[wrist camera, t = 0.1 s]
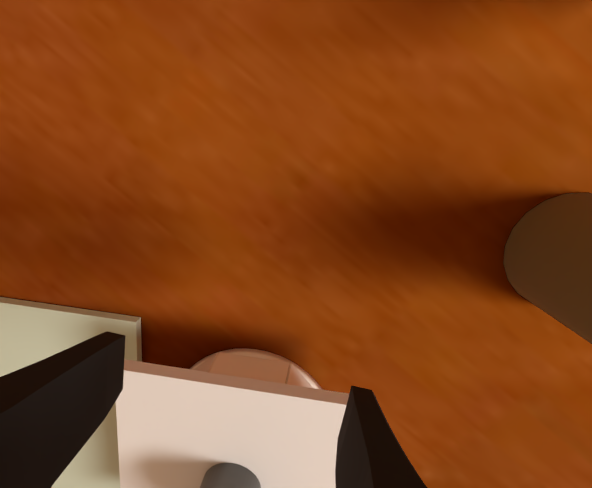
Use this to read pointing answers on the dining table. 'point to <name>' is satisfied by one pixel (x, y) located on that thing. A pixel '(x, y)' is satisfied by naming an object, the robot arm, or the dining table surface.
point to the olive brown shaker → (555, 260)
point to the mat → (51, 340)
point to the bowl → (256, 367)
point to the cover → (224, 431)
